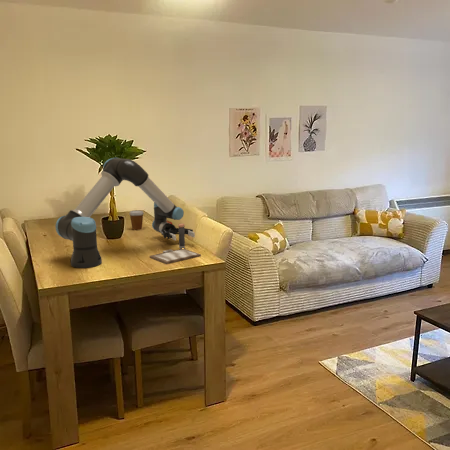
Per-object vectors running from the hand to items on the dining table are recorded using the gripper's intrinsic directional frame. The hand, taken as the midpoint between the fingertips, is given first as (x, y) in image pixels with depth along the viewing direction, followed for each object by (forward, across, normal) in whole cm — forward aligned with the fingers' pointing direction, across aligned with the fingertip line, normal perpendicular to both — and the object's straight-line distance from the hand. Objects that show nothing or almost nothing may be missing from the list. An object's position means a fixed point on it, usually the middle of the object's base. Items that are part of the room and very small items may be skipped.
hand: (184, 236), depth 264 cm
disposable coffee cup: (-64, +2, -8) cm, 65 cm away
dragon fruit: (-46, -10, -8) cm, 48 cm away
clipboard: (+10, +11, -8) cm, 17 cm away
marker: (-4, 0, -8) cm, 9 cm away
